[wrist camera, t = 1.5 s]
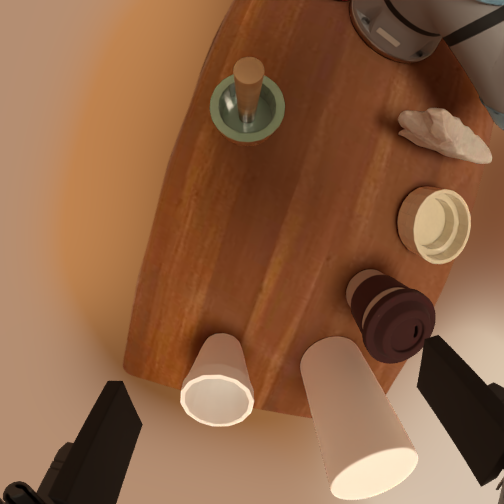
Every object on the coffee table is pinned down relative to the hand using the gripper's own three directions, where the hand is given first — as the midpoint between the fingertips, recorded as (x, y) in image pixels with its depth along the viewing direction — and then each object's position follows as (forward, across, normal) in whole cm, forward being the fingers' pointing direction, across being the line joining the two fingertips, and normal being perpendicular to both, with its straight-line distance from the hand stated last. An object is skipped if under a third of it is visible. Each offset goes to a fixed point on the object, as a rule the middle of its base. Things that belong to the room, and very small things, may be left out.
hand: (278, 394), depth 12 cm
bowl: (+34, +27, -2) cm, 43 cm away
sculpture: (+34, +27, +11) cm, 45 cm away
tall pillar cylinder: (+34, +10, -24) cm, 43 cm away
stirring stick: (+33, +1, +16) cm, 37 cm away
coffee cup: (+34, +16, -12) cm, 39 cm away
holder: (+34, +1, +16) cm, 37 cm away
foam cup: (+34, -8, -18) cm, 39 cm away
